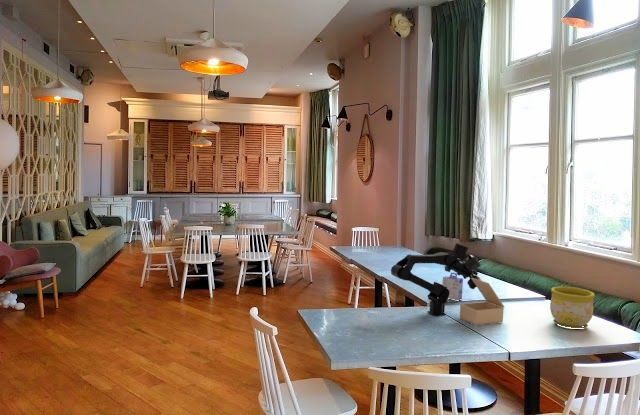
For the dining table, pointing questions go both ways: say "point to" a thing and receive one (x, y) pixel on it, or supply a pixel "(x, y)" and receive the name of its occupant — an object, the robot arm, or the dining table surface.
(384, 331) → the dining table surface
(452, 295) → the ink cartridge box
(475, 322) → the carton
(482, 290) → the carton lid
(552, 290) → the flowerpot
